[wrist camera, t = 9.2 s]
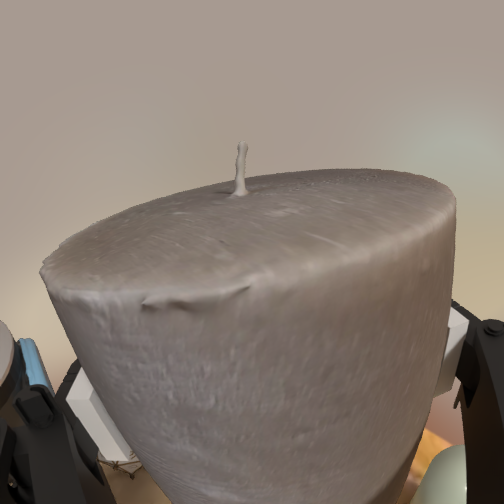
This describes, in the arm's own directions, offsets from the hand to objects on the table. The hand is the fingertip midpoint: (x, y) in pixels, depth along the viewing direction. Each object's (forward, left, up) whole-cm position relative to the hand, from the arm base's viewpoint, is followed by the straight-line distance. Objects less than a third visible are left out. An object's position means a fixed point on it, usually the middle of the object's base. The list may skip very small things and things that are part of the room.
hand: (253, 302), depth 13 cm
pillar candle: (+3, -3, -9) cm, 10 cm away
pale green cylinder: (+12, +6, -27) cm, 30 cm away
